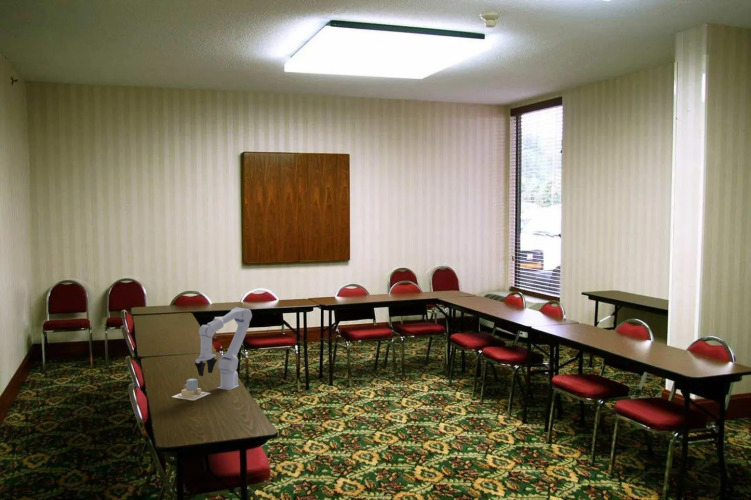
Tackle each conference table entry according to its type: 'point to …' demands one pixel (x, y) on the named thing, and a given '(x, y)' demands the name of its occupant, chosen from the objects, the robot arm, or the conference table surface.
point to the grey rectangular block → (192, 384)
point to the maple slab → (190, 392)
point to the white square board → (191, 397)
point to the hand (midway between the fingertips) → (205, 374)
